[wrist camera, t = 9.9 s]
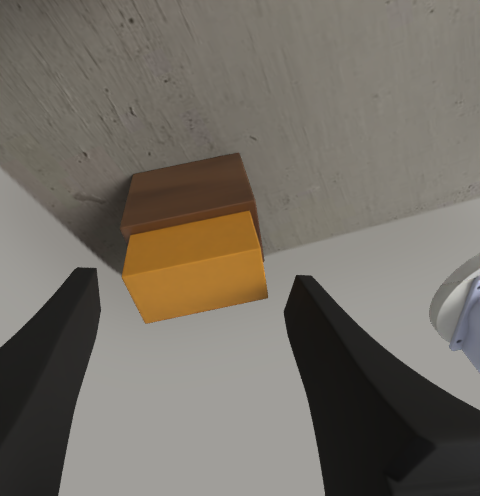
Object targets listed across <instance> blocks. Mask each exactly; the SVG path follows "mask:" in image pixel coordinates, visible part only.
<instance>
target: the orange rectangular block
mask: <svg viewBox="0 0 480 496" xmlns="http://www.w3.org/2000/svg"><path fill="white" fill-rule="evenodd" d="M122 279H123V281H124V283H125V285H126V287H127V289H128V291H129V293H130V295H131V297H132V299H133V301H134V303H135V304H136V307H137V309H138V310H139V313H140V314H141V316H142V318H143V320H144V322H145V323H146V324H147V323H152V322H157V321H161V320H166V319H171V318H175V317H180V316H185V315H190V314H194V313H199V312H204V311H209V310H214V309H218V308H223V307H228V306H233V305H237V304H243V303H247V302H252V301H256V300H262V299H266V298H268V292H267V285H266V279H265V273H264V266H263V259H262V253H261V247H260V244H259V241H258V237H257V234H256V231H255V227H254V224H253V220H252V217H251V214H250V211H244V212H239V213H235V214H230V215H225V216H220V217H215V218H211V219H206V220H201V221H196V222H191V223H186V224H182V225H177V226H172V227H167V228H162V229H158V230H153V231H148V232H143V233H138V234H134V235H130V238H129V243H128V248H127V253H126V258H125V263H124V268H123V272H122Z"/></svg>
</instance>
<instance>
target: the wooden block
mask: <svg viewBox="0 0 480 496" xmlns="http://www.w3.org/2000/svg"><path fill="white" fill-rule="evenodd" d="M244 211H250V214H251V217H252V220H253V224H254V227H255V231H256V234H257V237H258V241H259V244H260V247H261V253H262V259H263V262H264V255H263V248H262V241H261V235H260V228H259V221H258V215H257V208H256V201H255V198H254V195H253V192H252V189H251V186H250V183H249V180H248V177H247V174H246V171H245V168H244V165H243V162H242V159H241V156H240V154H239V153H234V154H229V155H224V156H219V157H215V158H210V159H205V160H200V161H195V162H190V163H186V164H181V165H176V166H171V167H166V168H161V169H157V170H152V171H147V172H142V173H137V174H134V175H133V177H132V181H131V185H130V189H129V193H128V197H127V201H126V205H125V209H124V213H123V217H122V221H121V224H120V231H121V233H122V235H123V237H124V239H125V241H126V244H127V246H128V243H129V238H130V235H134V234H138V233H143V232H148V231H153V230H158V229H162V228H167V227H172V226H177V225H182V224H186V223H191V222H196V221H201V220H206V219H211V218H215V217H220V216H225V215H230V214H235V213H239V212H244Z"/></svg>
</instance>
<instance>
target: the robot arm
mask: <svg viewBox="0 0 480 496" xmlns="http://www.w3.org/2000/svg"><path fill="white" fill-rule="evenodd" d="M100 312H101V307H100V297H99V288H98V278H97V269H96V268H79V267H78V268H76V269H75V270H74V271H73V272H72V273H71V274H70V276H69V277H68V278H67V279H66V281H65V282H64V283H63V284H62V285H61V287H60V288H59V289H58V290H57V291H56V292H55V294H54V295H53V296H52V297H51V298H50V299H49V300H48V301H47V302H46V303H45V305H44V306H43V307H42V308H41V309H40V310H39V311H38V312H37V313H36V314H35V315H34V316H33V318H31V319H30V320H29V321H28V322H27V323H26V324H25V325H24V326H23V327H22V328H21V329H20V330H19V331H18V332H17V333H16V334H15V335H14V336H13V337H12V338H11V339H10V340H8V341H7V342H6V343H5V344H4V345H3V346H2V347H0V496H58V493H59V488H60V482H61V476H62V471H63V465H64V459H65V454H66V449H67V444H68V439H69V434H70V429H71V423H72V419H73V414H74V409H75V405H76V401H77V398H78V395H79V391H80V388H81V385H82V382H83V378H84V375H85V372H86V369H87V365H88V362H89V358H90V355H91V352H92V349H93V346H94V342H95V339H96V335H97V329H98V323H99V318H100ZM284 317H285V323H286V329H287V334H288V338H289V341H290V344H291V347H292V351H293V354H294V357H295V360H296V363H297V366H298V369H299V372H300V375H301V379H302V382H303V385H304V388H305V391H306V395H307V398H308V403H309V407H310V412H311V416H312V421H313V426H314V431H315V436H316V441H317V447H318V452H319V457H320V464H321V470H322V476H323V483H324V489H325V496H480V410H478V409H476V408H474V407H473V406H471V405H469V404H467V403H465V402H463V401H462V400H460V399H458V398H456V397H454V396H452V395H451V394H449V393H448V392H446V391H445V390H443V389H441V388H440V387H438V386H437V385H435V384H433V383H432V382H430V381H429V380H427V379H426V378H424V377H423V376H421V375H420V374H418V373H417V372H415V371H414V370H413V369H411V368H410V367H408V366H407V365H405V364H404V363H403V362H401V361H400V360H399V359H397V358H396V357H395V356H394V355H392V354H391V353H390V352H388V351H387V350H386V349H385V348H384V347H383V346H381V345H380V344H379V343H378V342H376V341H375V340H374V339H373V338H372V337H371V336H370V335H369V334H368V333H367V332H365V331H364V330H363V329H362V328H361V327H360V326H359V325H358V324H357V323H356V322H355V321H354V320H353V319H352V318H351V317H350V316H349V315H348V314H347V313H346V312H345V311H344V310H343V309H342V308H341V307H340V306H339V305H338V304H337V303H336V302H335V301H334V299H333V298H332V297H331V296H330V295H329V294H328V293H327V292H326V291H325V290H324V289H323V288H322V286H321V285H320V284H319V283H318V282H317V281H316V280H315V279H314V278H313V277H312V276H305V275H296V277H295V280H294V283H293V286H292V289H291V292H290V295H289V298H288V301H287V304H286V307H285V309H284ZM449 348H450V349H451V350H452V351H457V350H461V349H462V351H463V352H464V353H465V355H466V356H467V357H468V359H469V360H470V361H471V362H472V364H473V365H474V366H475V367H476V369H477V370H478V372H479V373H480V276H478V277H476V278H475V279H474V280H473V282H472V285H471V288H470V290H469V293H468V296H467V299H466V301H465V304H464V307H463V310H462V312H461V315H460V318H459V320H458V323H457V326H456V329H455V331H454V334H453V337H452V339H451V342H450V345H449Z"/></svg>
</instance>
